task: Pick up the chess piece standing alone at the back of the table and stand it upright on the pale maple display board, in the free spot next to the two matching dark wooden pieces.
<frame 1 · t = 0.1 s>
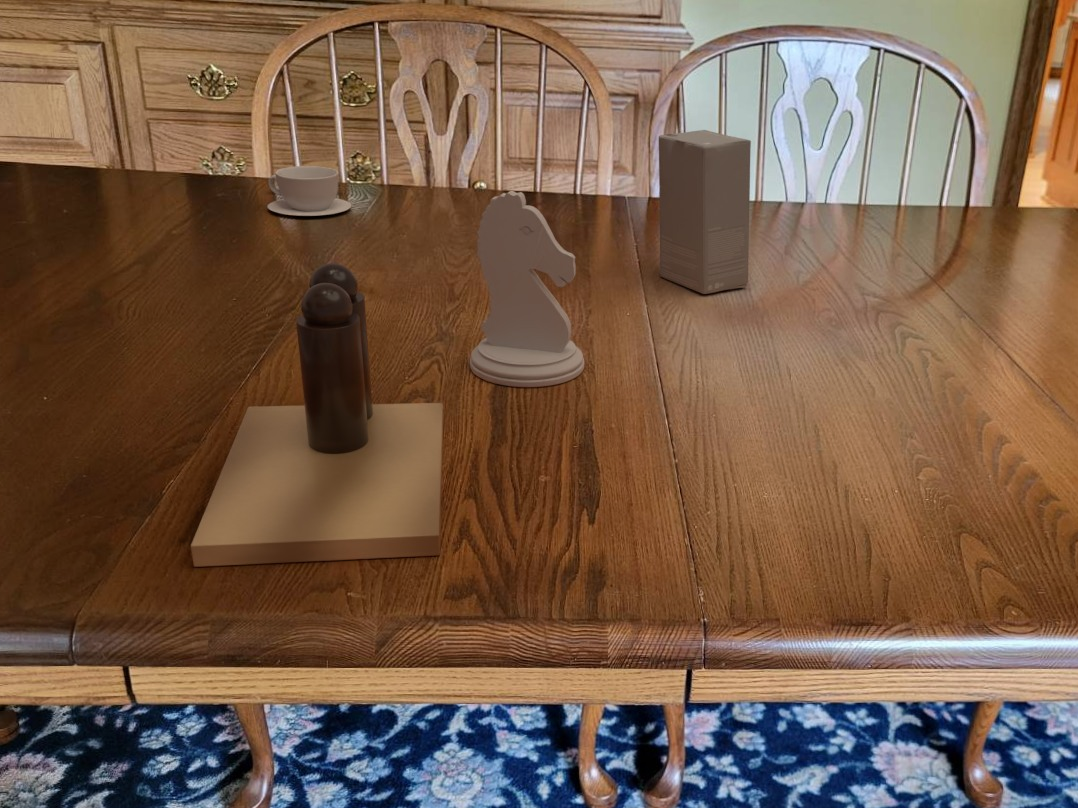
cosmetic box: (699, 284, 121), on the table
teacup: (310, 211, 138), on the table
chess piece: (527, 368, 96), on the table
display board: (335, 483, 74), on the table
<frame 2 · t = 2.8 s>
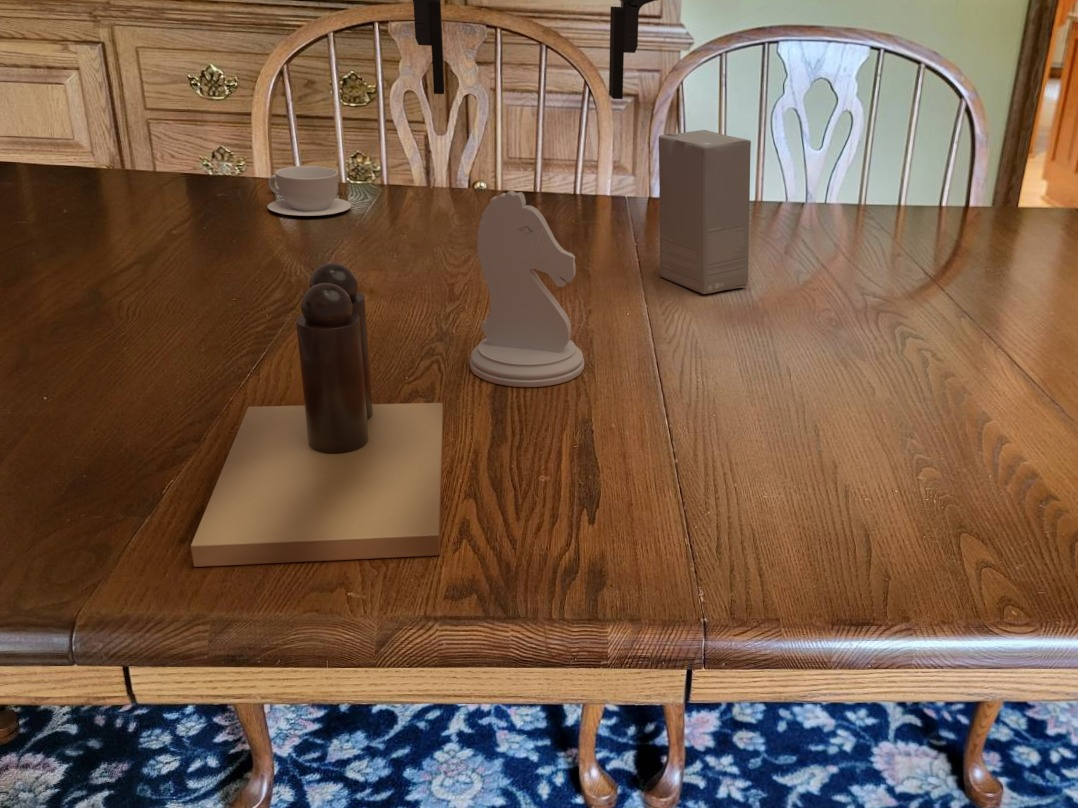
hand: (528, 94, 86), 23 cm above the table, tool pointing down, fingers open, 13 cm apart
nothing on the table moved.
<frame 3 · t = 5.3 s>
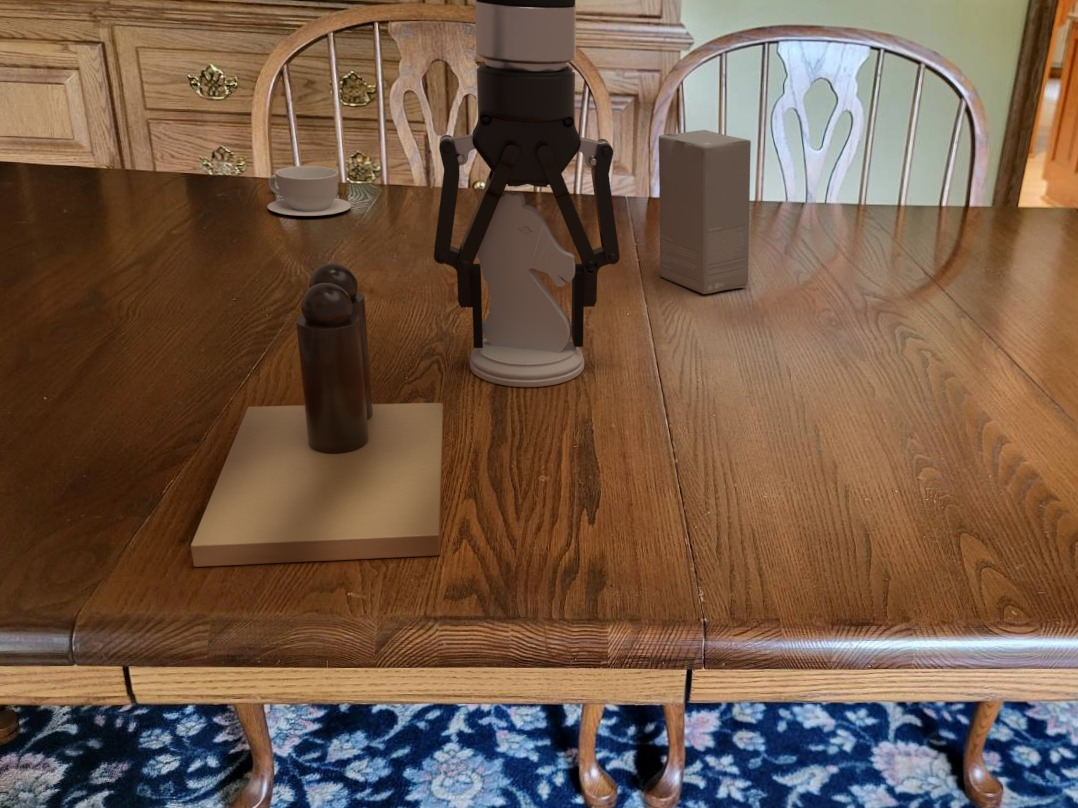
hand: (528, 341, 95), 2 cm above the table, tool pointing down, fingers closed on chess piece, 8 cm apart
chess piece: (527, 367, 96), on the table, touching gripper
everything else where it was.
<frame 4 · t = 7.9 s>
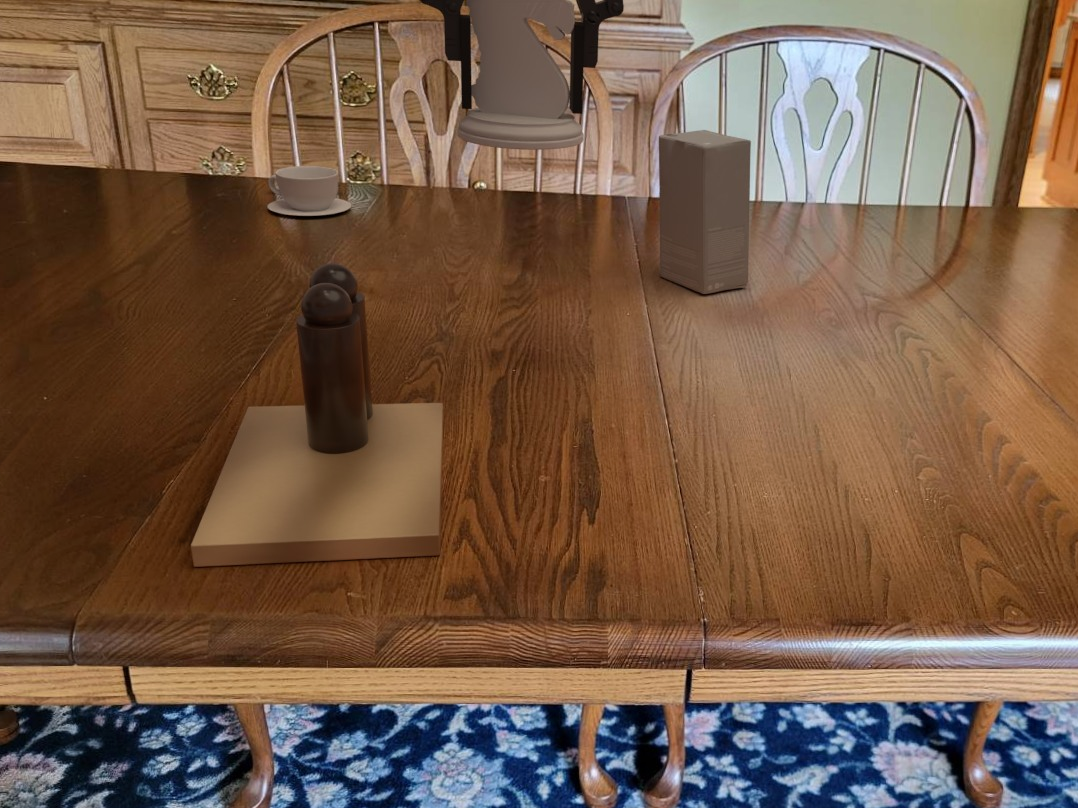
hand: (521, 108, 86), 22 cm above the table, tool pointing down, fingers closed on chess piece, 8 cm apart
chess piece: (521, 140, 87), point 19 cm above the table, touching gripper
everything else where it was.
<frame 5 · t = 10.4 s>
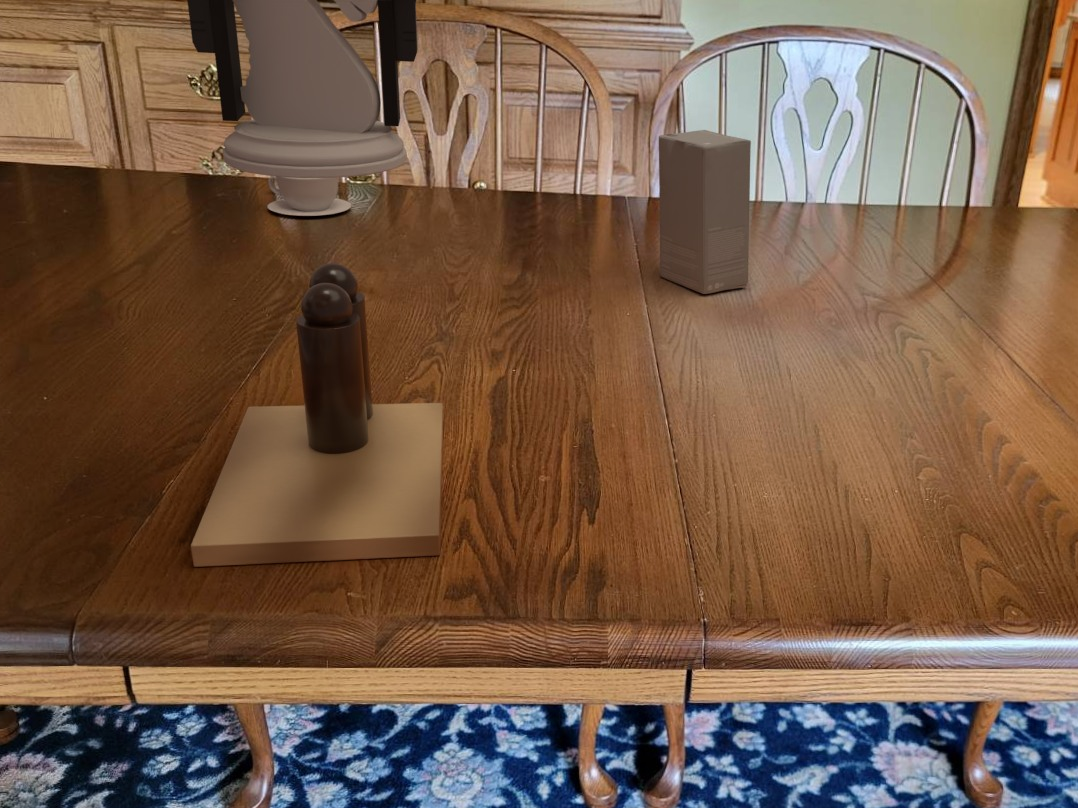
hand: (314, 118, 61), 24 cm above the table, tool pointing down, fingers closed on chess piece, 8 cm apart
chess piece: (317, 163, 62), point 22 cm above the table, touching gripper
everything else where it was.
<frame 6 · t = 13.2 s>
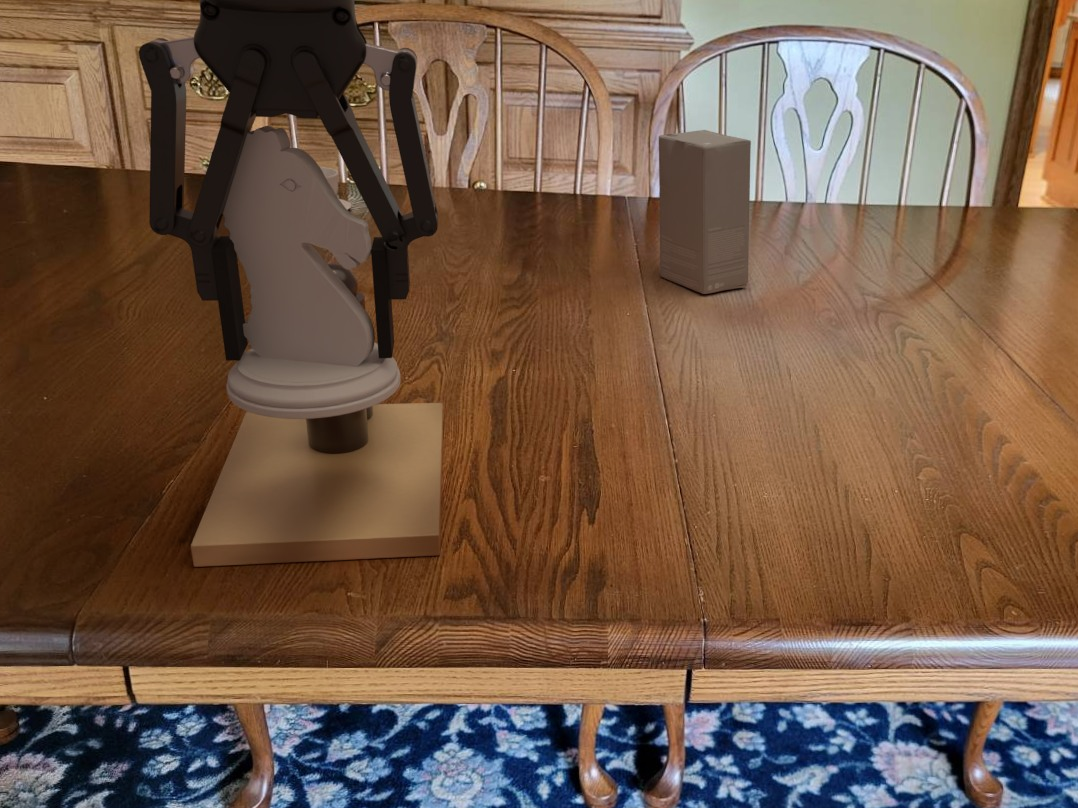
hand: (312, 350, 65), 12 cm above the table, tool pointing down, fingers closed on chess piece, 8 cm apart
chess piece: (316, 388, 66), point 9 cm above the table, touching gripper
everything else where it was.
when the fingers open (4 cm above the table, at t = 15.4 s): chess piece stays where it is, resting on display board.
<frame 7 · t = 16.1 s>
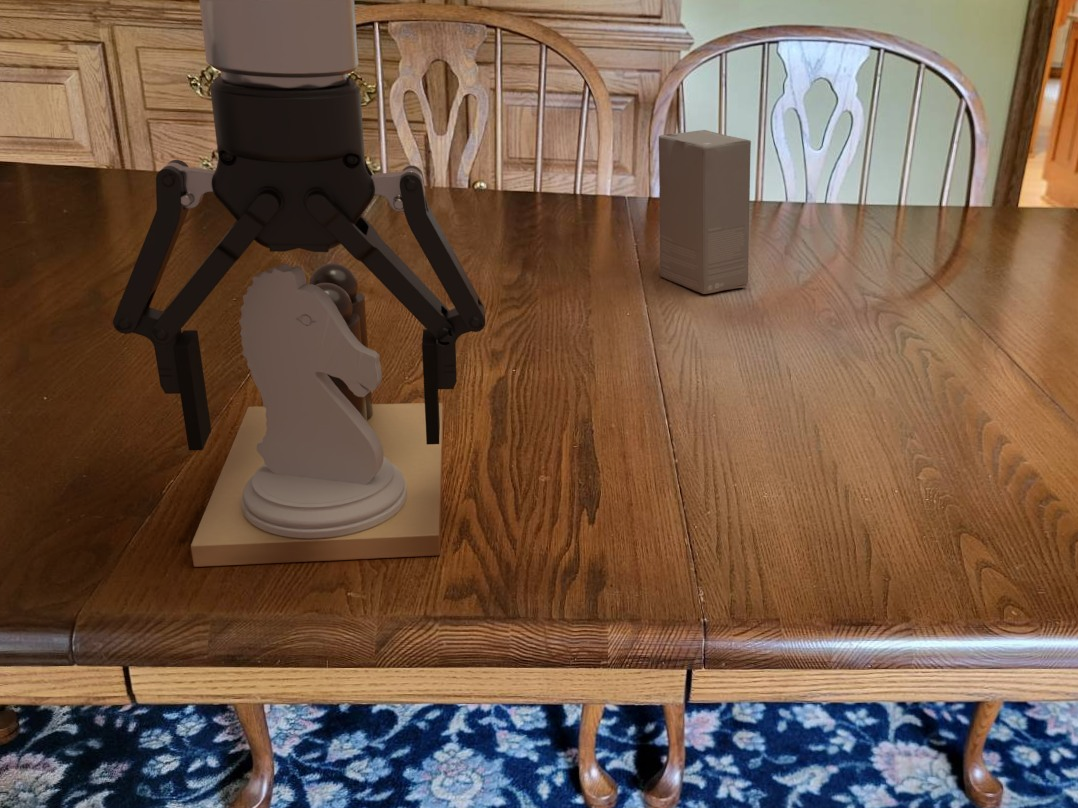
hand: (319, 438, 67), 6 cm above the table, tool pointing down, fingers open, 13 cm apart
chess piece: (326, 502, 69), point 1 cm above the table, touching display board
everything else where it was.
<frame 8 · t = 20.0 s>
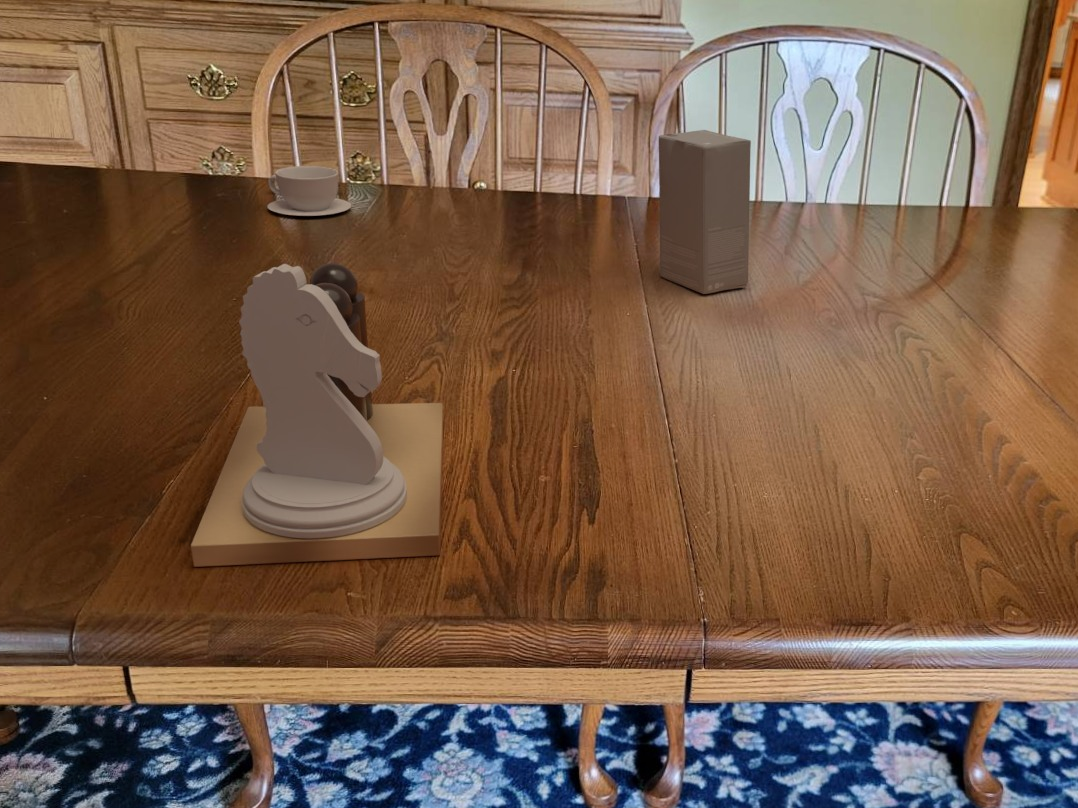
nothing on the table moved.
at the end: chess piece 0.0 cm from the target spot on the display board, point 1.3 cm above the display board's base; chess piece tilted 0°; the gripper is holding nothing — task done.
